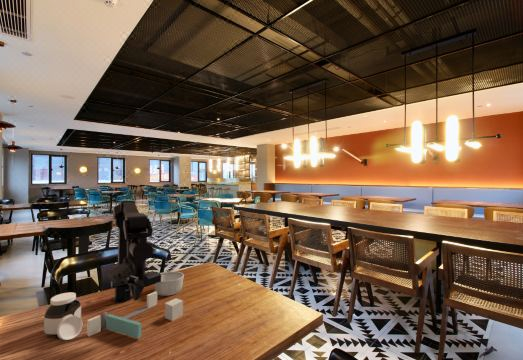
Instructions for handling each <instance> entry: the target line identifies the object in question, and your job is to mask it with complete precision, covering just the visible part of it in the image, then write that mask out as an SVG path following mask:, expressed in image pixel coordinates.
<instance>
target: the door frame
mask: <svg viewBox="0 0 523 360" xmlns="http://www.w3.org/2000/svg"><path fill="white" fill-rule="evenodd" d="M156 305H158V294H157V292H156V291H155V290H154V291H153V292H151V293H149V294H146V306H144V307H142V308H141V307H140V309H137V310H134V311H133V312H130V313H129V314H126V315H124V316H121V317H122V318H125V319H129V320H130V319H131V318H134V317H135V316H137V315H139V314H142V313H144V312H146V311H148V310H150V309H151V308H153V307H154V306H156ZM107 315H108V312H107V311H104V312H101V313H100V315H96V316H94V317H92V318H90V319H89V318H88V319H87V320H86V326H87V327H86V332H87V333H86V335H87V336H88V337H91V336H93V335H96V334H98V333H100V332H101V331H104V330H107V329H106V316H107Z"/></svg>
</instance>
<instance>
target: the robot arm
mask: <svg viewBox="0 0 523 360" xmlns="http://www.w3.org/2000/svg"><path fill="white" fill-rule="evenodd" d="M112 218H113V219H112V220H114V223H115V225H116V226H117V228H118V236H117V237H118V239H117V240H118V243H117V244H118V246H117V262H116V264H115V266H114V267H113V268H112V269H110V270H109V271H107V275H108V278H109V280H110V286H111V289H114V297H111V298H110V300H111V301H113V302H115V303H116V304H122V303H125V302H127V301H129V300H131V299H133V300H134V301H138V300H139V299H140V296H141V295H142V293H143V291H144V289H145V288H147V287H149V286H152V285H154V284H155V283H158V282H161V274H160V273H161V272H157V271H154V270H152V271H149V267H148V266H147V262H146V261H147V260H148V259H150V258H151V256H152V255H153V252H154V248H153V246H152V244H151V243H149V242H148V238H153V233H154V230H153V227H152V222H151V220H150V218H148V216H147V214H145V213H142V212H140V211H139V209H138V206H137V205H136V201H135V200H133V199H131V200H122V201H120V202H119V204H117V205H115V206H114V207H113V210H112ZM147 271H148V272H147Z"/></svg>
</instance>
